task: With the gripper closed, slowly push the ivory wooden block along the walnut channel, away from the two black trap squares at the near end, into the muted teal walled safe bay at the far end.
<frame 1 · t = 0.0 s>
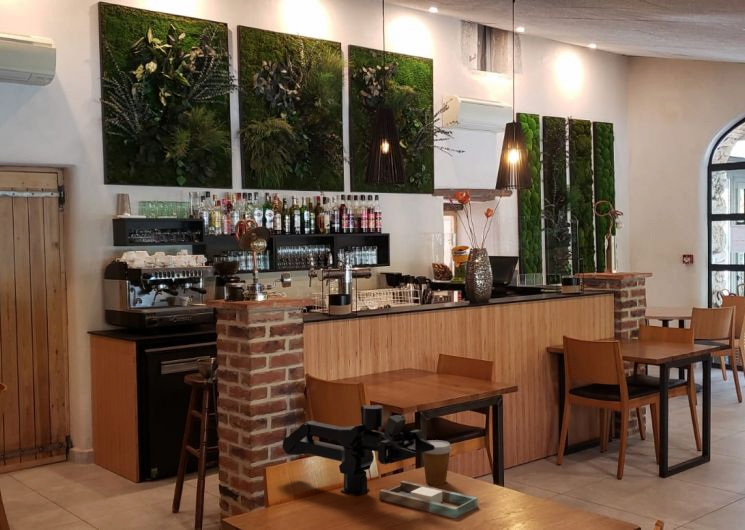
hand: (425, 451, 230), 17 cm above the table, tool horizontal, fingers open, 9 cm apart
disposable coffee cup: (435, 482, 256), on the table
ivory block: (426, 503, 236), resting in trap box
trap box: (427, 502, 236), on the table
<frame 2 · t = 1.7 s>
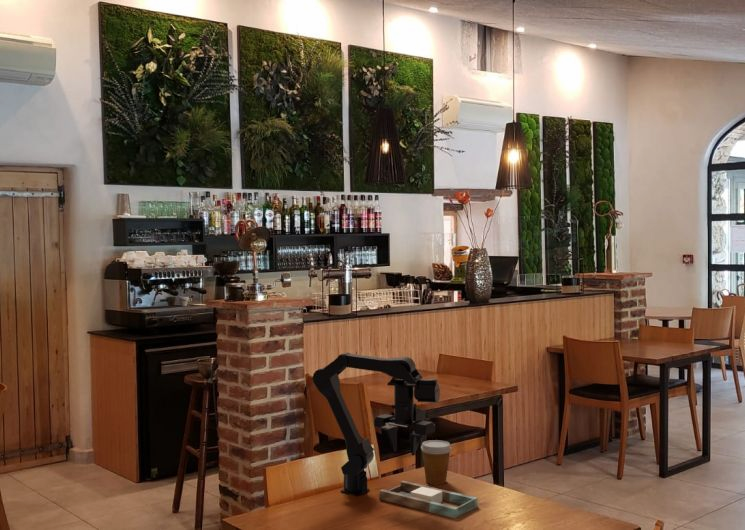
hand: (404, 453, 240), 13 cm above the table, tool pointing down, fingers open, 6 cm apart
nothing on the table moved.
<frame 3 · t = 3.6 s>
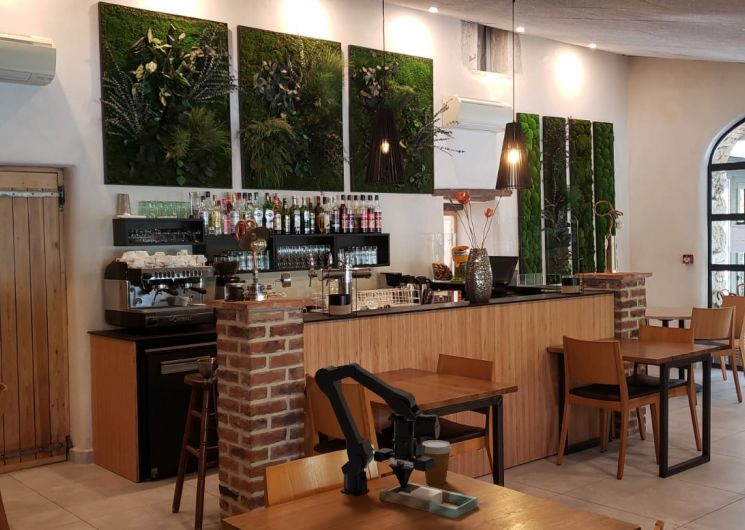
hand: (403, 488, 241), 3 cm above the table, tool pointing down, fingers closed
nothing on the table moved.
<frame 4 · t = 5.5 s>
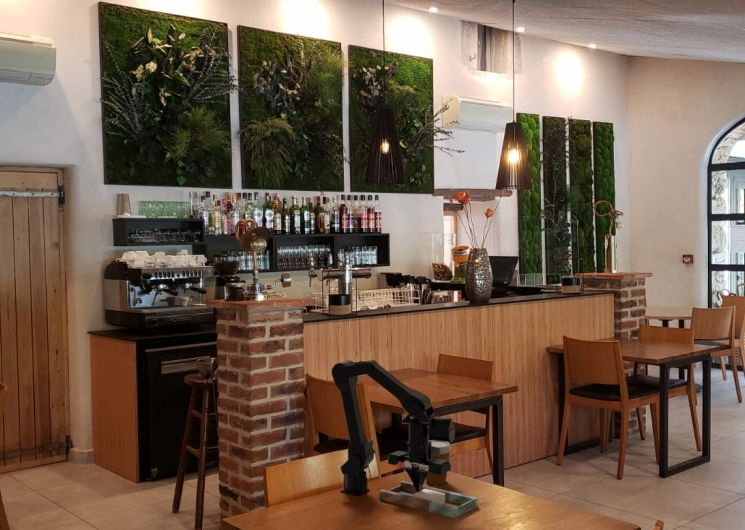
hand: (418, 491, 238), 3 cm above the table, tool pointing down, fingers closed
ivory block: (429, 505, 235), resting in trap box, touching gripper
everything else where it was.
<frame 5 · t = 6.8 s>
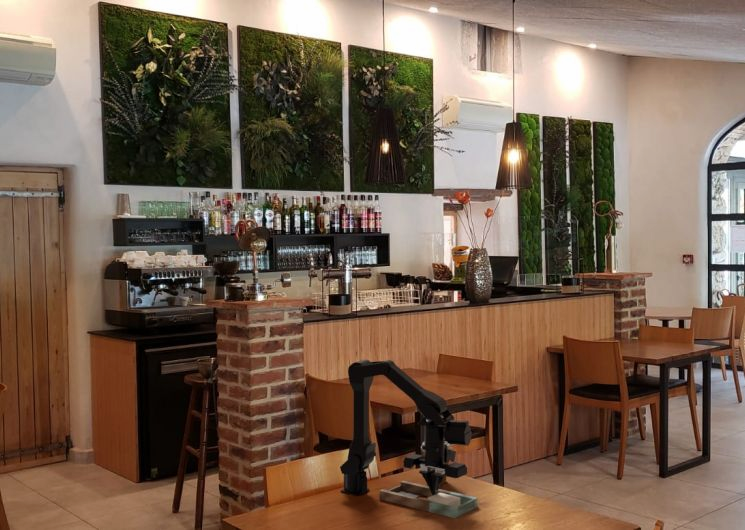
hand: (434, 495, 234), 3 cm above the table, tool pointing down, fingers closed
ivory block: (444, 509, 231), resting in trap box, touching gripper
everything else where it was.
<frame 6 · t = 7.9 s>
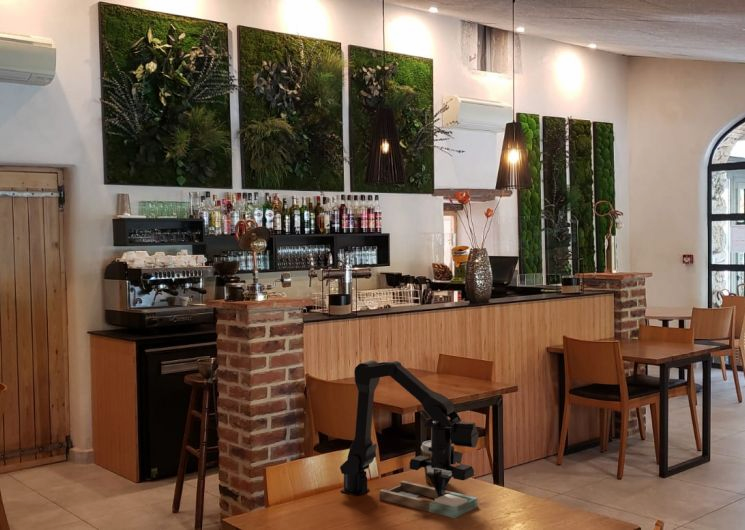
hand: (440, 497, 233), 3 cm above the table, tool pointing down, fingers closed
ivory block: (450, 511, 230), resting in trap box
everything else where it was.
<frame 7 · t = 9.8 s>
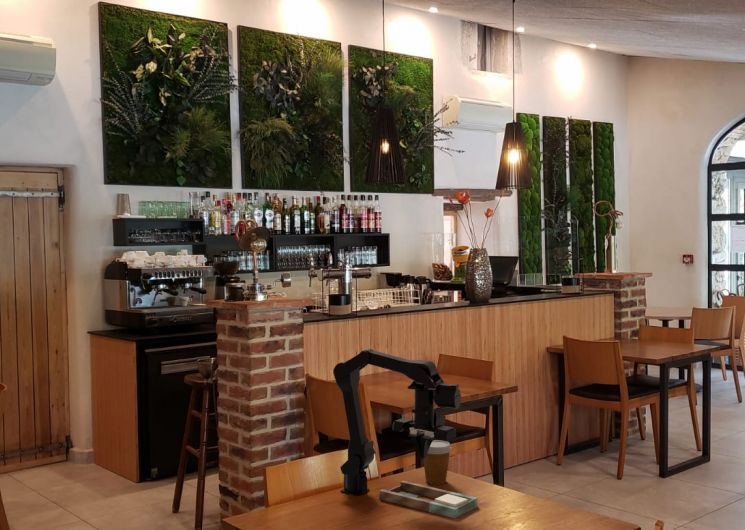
hand: (423, 458, 236), 13 cm above the table, tool pointing down, fingers closed
nothing on the table moved.
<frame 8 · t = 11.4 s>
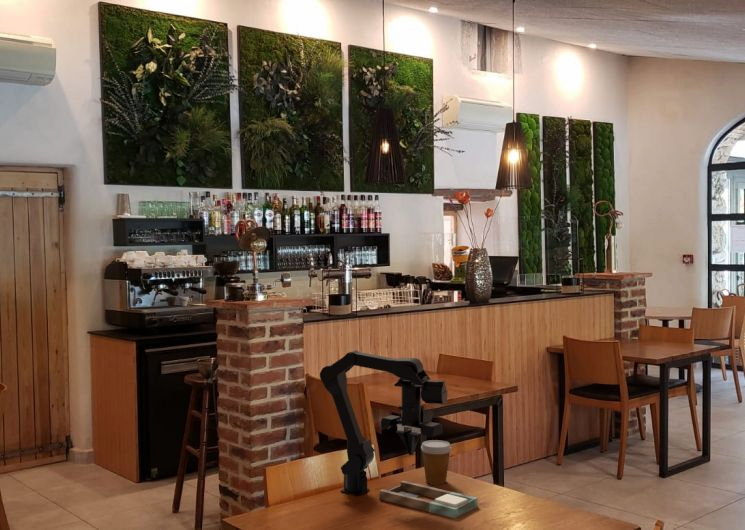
hand: (411, 454, 239), 13 cm above the table, tool pointing down, fingers closed
nothing on the table moved.
at the end: ivory block 1.3 cm from the target spot on the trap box, point 0.0 cm above the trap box's base; ivory block tilted 0° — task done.
